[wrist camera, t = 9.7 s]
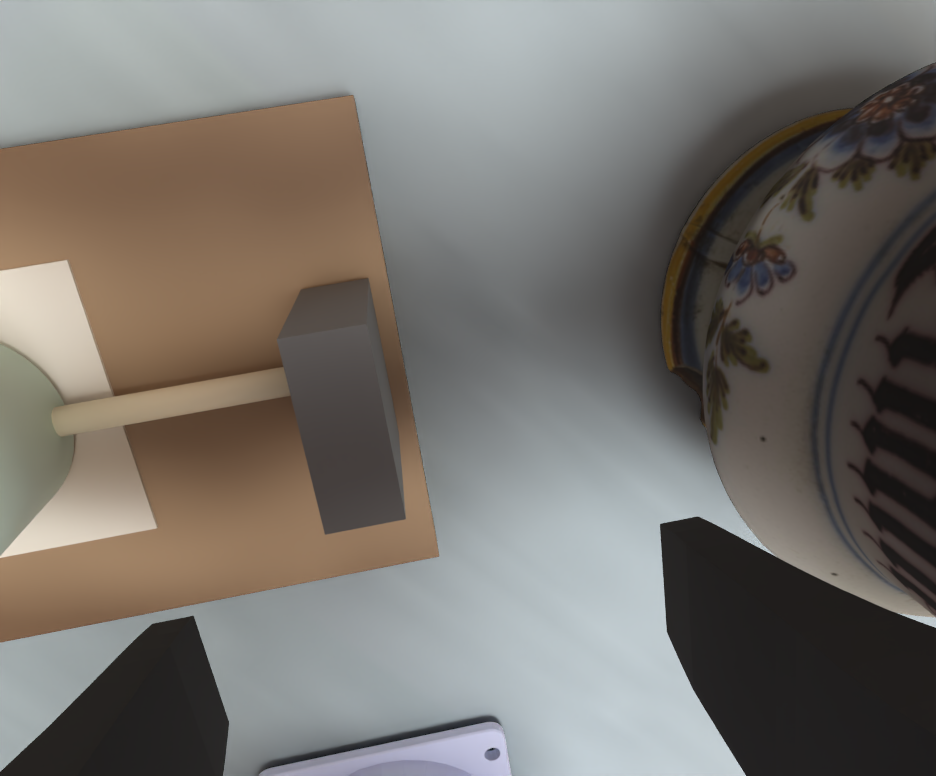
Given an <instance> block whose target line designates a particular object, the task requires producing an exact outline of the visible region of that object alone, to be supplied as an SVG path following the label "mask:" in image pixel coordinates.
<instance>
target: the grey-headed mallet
mask: <svg viewBox="0 0 936 776" xmlns="http://www.w3.org/2000/svg"><path fill="white" fill-rule="evenodd" d="M277 342H278V347H279V351H280V355H281V359H282V363H283V367H280V368H274V369H268V370H263V371H257V372H251V373H246V374H240V375H234V376H229V377H223V378H217V379H212V380H206V381H200V382H195V383H189V384H183V385H177V386H172V387H166V388H160V389H155V390H149V391H143V392H138V393H132V394H126V395H121V396H115V397H109V398H104V399H98V400H92V401H87V402H81V403H75V404H70V405H65V404H64V402H63V400H62V399H61V397H60V395H59V394H58V392H57V390H56V389H55V388H54V386H53V385H52V384H51V382H50V381H49V380H48V379H47V377H46V376H45V375H44V374H43V373H42V372H41V371H40V370H39V369H38V368H37V367H35V366H34V365H33V364H32V363H30V362H29V361H28V360H27V359H25V358H24V357H23V356H21V355H19V354H18V353H16V352H15V351H13V350H12V349H10V348H8V347H6V346H4V345H2V344H0V556H1V555H2V553H3V552H4V551H5V550H6V549H7V548H8V547H9V546H10V544H11V543H12V542H13V541H14V540H15V539H16V538H17V537H18V536H19V534H20V533H21V532H22V531H23V530H24V529H25V528H26V527H27V525H28V524H29V523H30V522H31V521H32V520H33V519H34V518H35V517H36V515H37V514H38V513H39V512H40V511H41V510H42V509H43V508H44V506H45V505H46V504H47V503H48V502H49V501H50V500H51V499H52V498H53V496H54V495H55V494H56V493H57V491H58V490H59V489H60V487H61V486H62V485H63V483H64V481H65V479H66V477H67V475H68V473H69V470H70V467H71V464H72V459H73V453H74V435H73V434H79V433H85V432H90V431H96V430H101V429H107V428H112V427H118V426H124V425H129V424H135V423H140V422H146V421H152V420H157V419H163V418H168V417H174V416H180V415H185V414H191V413H196V412H202V411H208V410H213V409H219V408H224V407H230V406H235V405H241V404H247V403H252V402H258V401H263V400H269V399H275V398H280V397H286V396H291V399H292V403H293V407H294V411H295V415H296V420H297V424H298V428H299V432H300V436H301V440H302V444H303V448H304V452H305V456H306V460H307V464H308V468H309V472H310V476H311V480H312V484H313V488H314V493H315V497H316V501H317V505H318V509H319V513H320V517H321V521H322V525H323V529H324V533H325V535H327V534H332V533H337V532H342V531H348V530H353V529H358V528H363V527H368V526H374V525H379V524H384V523H389V522H394V521H400V520H405V519H406V513H405V501H404V489H403V477H402V465H401V453H400V441H399V431H398V426H397V421H396V415H395V410H394V405H393V400H392V395H391V390H390V385H389V380H388V375H387V369H386V364H385V359H384V354H383V349H382V344H381V339H380V334H379V329H378V324H377V318H376V313H375V308H374V303H373V298H372V293H371V288H370V283H369V278H366V279H360V280H354V281H348V282H342V283H336V284H330V285H324V286H318V287H312V288H306V289H301V290H300V292H299V294H298V297H297V299H296V301H295V303H294V305H293V307H292V309H291V311H290V313H289V315H288V317H287V319H286V321H285V323H284V325H283V328H282V330H281V332H280V334H279V336H278V338H277Z"/></svg>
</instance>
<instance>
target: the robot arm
mask: <svg viewBox="0 0 936 776" xmlns="http://www.w3.org/2000/svg"><path fill="white" fill-rule="evenodd" d="M660 531H661V546H662V562H663V577H664V593H665V608H666V623H667V633H668V635H669V638H670V640H671V642H672V644H673V647H674V649H675V651H676V653H677V656H678V658H679V660H680V662H681V665H682V667H683V669H684V671H685V673H686V675H687V677H688V679H689V681H690V684H691V686H692V688H693V690H694V692H695V693H696V695H697V697H698V698H699V700H700V702H701V703H702V705H703V707H704V708H705V710H706V712H707V713H708V715H709V716H710V718H711V720H712V721H713V723H714V725H715V726H716V728H717V729H718V731H719V733H720V734H721V736H722V738H723V739H724V741H725V742H726V744H727V746H728V747H729V749H730V750H731V752H732V754H733V755H734V757H735V758H736V760H737V762H738V763H739V765H740V766H741V768H742V770H743V771H744V773H745V775H746V776H936V628H934V627H932V626H929V625H926V624H923V623H921V622H918V621H915V620H913V619H910V618H907V617H905V616H902V615H900V614H897V613H895V612H892V611H890V610H888V609H885V608H883V607H880V606H878V605H876V604H874V603H871V602H869V601H867V600H865V599H862V598H860V597H858V596H856V595H853V594H851V593H849V592H847V591H844V590H842V589H840V588H838V587H836V586H834V585H831V584H829V583H827V582H825V581H823V580H821V579H819V578H817V577H815V576H813V575H811V574H809V573H807V572H805V571H803V570H801V569H799V568H797V567H795V566H793V565H791V564H789V563H787V562H785V561H783V560H781V559H779V558H777V557H775V556H773V555H771V554H770V553H768V552H766V551H764V550H762V549H760V548H758V547H756V546H754V545H753V544H751V543H749V542H747V541H745V540H743V539H741V538H739V537H738V536H736V535H734V534H732V533H730V532H728V531H726V530H724V529H722V528H720V527H719V526H717V525H715V524H713V523H711V522H709V521H706V520H704V519H702V518H700V517H693V518H688V519H683V520H678V521H673V522H668V523H663V524H660ZM228 728H229V721H228V718H227V715H226V712H225V709H224V706H223V703H222V700H221V697H220V694H219V691H218V688H217V685H216V682H215V679H214V676H213V673H212V670H211V667H210V664H209V661H208V658H207V655H206V652H205V649H204V646H203V643H202V640H201V637H200V634H199V631H198V628H197V625H196V622H195V619H194V616H190V617H185V618H180V619H175V620H170V621H165V622H160V623H155V624H152V625H151V626H150V627H148V628H147V629H146V630H145V631H144V632H143V633H142V634H141V635H140V636H139V637H137V638H136V639H135V640H134V641H133V642H132V643H131V644H130V645H129V646H128V647H127V648H126V649H125V650H124V651H123V652H122V653H121V654H120V655H119V656H118V657H117V658H116V659H115V660H114V661H113V662H112V663H111V664H110V665H109V666H108V667H107V668H106V669H105V671H104V672H103V673H102V674H101V675H100V676H99V677H98V678H97V679H96V680H95V681H94V682H93V683H92V684H91V685H90V686H89V687H88V688H87V689H86V690H85V691H84V692H83V693H82V694H81V695H80V696H79V697H78V698H77V699H76V700H75V701H74V702H73V703H72V704H71V705H70V706H69V707H68V708H67V709H66V710H65V711H64V712H63V713H62V714H61V715H60V716H59V717H58V718H57V719H56V720H55V721H54V722H53V723H52V724H51V725H50V726H49V727H48V728H47V729H46V730H45V731H44V732H42V733H41V734H40V735H39V736H38V737H37V738H36V739H35V740H34V741H33V742H32V743H31V744H30V745H29V746H27V747H26V748H25V749H24V750H23V751H22V752H21V753H20V754H19V755H18V756H17V757H16V758H15V759H14V760H12V761H11V762H10V763H9V764H8V765H7V766H6V767H5V768H4V769H3V770H2V771H1V772H0V776H223V770H224V763H225V755H226V746H227V737H228ZM490 748H496V749H495V750H492V751H487V750H488V749H490ZM259 776H512V775H511V769H510V763H509V757H508V751H507V745H506V739H505V735H504V730H503V728H502V726H501V725H499V724H498V723H495V722H485V723H480V724H475V725H471V726H466V727H461V728H456V729H452V730H447V731H442V732H438V733H433V734H428V735H423V736H419V737H414V738H409V739H405V740H400V741H395V742H390V743H386V744H381V745H376V746H372V747H367V748H362V749H357V750H353V751H348V752H343V753H339V754H334V755H329V756H324V757H320V758H315V759H310V760H306V761H301V762H296V763H291V764H287V765H282V766H277V767H273V768H269V769H266V770H264V771H262V772H261V773H260V774H259Z"/></svg>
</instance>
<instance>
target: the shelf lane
mask: <svg viewBox="0 0 936 776" xmlns="http://www.w3.org/2000/svg"><path fill="white" fill-rule="evenodd" d="M366 278H369V283H370V288H371V293H372V298H373V303H374V308H375V313H376V318H377V324H378V329H379V334H380V339H381V344H382V349H383V354H384V359H385V364H386V369H387V375H388V380H389V385H390V390H391V395H392V400H393V405H394V410H395V415H396V421H397V426H398V431H399V441H400V453H401V465H402V477H403V489H404V501H405V513H406V519H405V520H400V521H394V522H389V523H384V524H379V525H374V526H368V527H363V528H358V529H353V530H348V531H342V532H337V533H332V534H327V535H325V533H324V529H323V525H322V521H321V517H320V513H319V509H318V505H317V501H316V497H315V493H314V488H313V484H312V480H311V476H310V472H309V468H308V464H307V460H306V456H305V452H304V448H303V444H302V440H301V436H300V432H299V428H298V424H297V420H296V415H295V411H294V407H293V403H292V399H291V396H286V397H280V398H275V399H269V400H263V401H258V402H252V403H247V404H241V405H235V406H230V407H224V408H219V409H213V410H208V411H202V412H196V413H191V414H185V415H180V416H174V417H168V418H163V419H157V420H152V421H146V422H140V423H135V424H129V425H124V426H118V427H112V428H107V429H101V430H96V431H90V432H85V433H79V434H73V435H74V453H73V459H72V464H71V467H70V470H69V473H68V475H67V477H66V479H65V481H64V483H63V485H62V486H61V487H60V489H59V490H58V491H57V493H56V494H55V495H54V496H53V498H52V499H51V500H50V501H49V502H48V503H47V504H46V505H45V506H44V508H43V509H42V510H41V511H40V512H39V513H38V514H37V515H36V517H35V518H34V519H33V520H32V521H31V522H30V523H29V524H28V525H27V527H26V528H25V529H24V530H23V531H22V532H21V533H20V534H19V536H18V537H17V538H16V539H15V540H14V541H13V542H12V543H11V544H10V546H9V547H8V548H7V549H6V550H5V551H4V552H3V553H2V555H1V556H0V642H5V641H10V640H15V639H20V638H25V637H30V636H35V635H41V634H46V633H51V632H56V631H61V630H66V629H71V628H76V627H81V626H86V625H92V624H97V623H102V622H107V621H112V620H117V619H122V618H127V617H132V616H138V615H143V614H148V613H153V612H158V611H163V610H168V609H173V608H178V607H183V606H189V605H194V604H199V603H204V602H209V601H214V600H219V599H224V598H229V597H234V596H240V595H245V594H250V593H255V592H260V591H265V590H270V589H275V588H280V587H286V586H291V585H296V584H301V583H306V582H311V581H316V580H321V579H326V578H331V577H337V576H342V575H347V574H352V573H357V572H362V571H367V570H372V569H377V568H383V567H388V566H393V565H398V564H403V563H408V562H413V561H418V560H423V559H428V558H434V557H439V552H438V545H437V539H436V533H435V527H434V522H433V517H432V511H431V506H430V501H429V495H428V490H427V485H426V479H425V474H424V468H423V463H422V458H421V452H420V447H419V442H418V436H417V431H416V426H415V420H414V415H413V410H412V404H411V399H410V393H409V388H408V383H407V377H406V372H405V367H404V361H403V356H402V351H401V345H400V340H399V334H398V329H397V324H396V318H395V313H394V308H393V302H392V297H391V292H390V286H389V281H388V276H387V270H386V265H385V259H384V254H383V249H382V243H381V238H380V233H379V227H378V222H377V217H376V211H375V206H374V201H373V195H372V190H371V184H370V179H369V174H368V168H367V163H366V158H365V152H364V147H363V142H362V136H361V131H360V126H359V120H358V115H357V109H356V104H355V99H354V96H353V95H351V96H344V97H337V98H331V99H324V100H318V101H311V102H305V103H298V104H292V105H285V106H278V107H272V108H265V109H259V110H252V111H246V112H239V113H233V114H226V115H219V116H213V117H206V118H200V119H193V120H187V121H180V122H174V123H167V124H160V125H154V126H147V127H141V128H134V129H128V130H121V131H115V132H108V133H102V134H95V135H88V136H82V137H75V138H69V139H62V140H56V141H49V142H43V143H36V144H29V145H23V146H16V147H10V148H3V149H0V344H2V345H4V346H6V347H8V348H10V349H12V350H13V351H15V352H16V353H18V354H19V355H21V356H23V357H24V358H25V359H27V360H28V361H29V362H30V363H32V364H33V365H34V366H35V367H37V368H38V369H39V370H40V371H41V372H42V373H43V374H44V375H45V376H46V377H47V379H48V380H49V381H50V382H51V384H52V385H53V386H54V388H55V389H56V390H57V392H58V394H59V395H60V397H61V399H62V400H63V402H64V404H65V405H70V404H75V403H81V402H87V401H92V400H98V399H104V398H109V397H115V396H121V395H126V394H132V393H138V392H143V391H149V390H155V389H160V388H166V387H172V386H177V385H183V384H189V383H195V382H200V381H206V380H212V379H217V378H223V377H229V376H234V375H240V374H246V373H251V372H257V371H263V370H268V369H274V368H280V367H283V363H282V359H281V355H280V351H279V347H278V342H277V338H278V336H279V334H280V332H281V330H282V328H283V325H284V323H285V321H286V319H287V317H288V315H289V313H290V311H291V309H292V307H293V305H294V303H295V301H296V299H297V297H298V294H299V292H300V290H301V289H306V288H312V287H318V286H324V285H330V284H336V283H342V282H348V281H354V280H360V279H366Z"/></svg>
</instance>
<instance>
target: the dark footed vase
mask: <svg viewBox="0 0 936 776" xmlns="http://www.w3.org/2000/svg"><path fill="white" fill-rule="evenodd" d="M661 334H662V344H663V350H664V355H665V359H666V363H667V367H668V369H669V371H670V372H673V373H675V374H677V375H678V376H679V377H681V379H682V380H683V381H684V382H685V383H686V384H687V385H688V386H690V387H691V388H692V389H694V390H695V391H696V392H697V393H698V395H699V396H700V399H701V404H702V406H701V416H700V420H701V422H702V424H703V425H704V426H705V427H706V430H707V435H708V440H709V445H710V449H711V453H712V456H713V460H714V463H715V466H716V469H717V471H718V474H719V476H720V479H721V481H722V483H723V486H724V488H725V490H726V492H727V494H728V496H729V498H730V500H731V501H732V503H733V505H734V507H735V508H736V510H737V511H738V513H739V514H740V516H741V517H742V519H743V520H744V522H745V523H746V524H747V526H748V527H749V528H750V530H751V531H752V532H753V533H754V534H755V536H756V537H757V538H758V539H759V540H760V542H761V543H762V544H763V545H764V546H765V547H766V548H767V549H768V550H770V551H771V552H772V553H773V554H774V555H775V556H776V557H777V558H779V559H781V560H783V561H785V562H787V563H789V564H791V565H793V566H795V567H797V568H799V569H801V570H803V571H805V572H807V573H809V574H811V575H813V576H815V577H817V578H819V579H821V580H823V581H825V582H827V583H829V584H831V585H834V586H836V587H838V588H840V589H842V590H844V591H847V592H849V593H851V594H853V595H856V596H858V597H860V598H862V599H865V600H867V601H869V602H871V603H874V604H876V605H878V606H880V607H883V608H885V609H888V610H890V611H892V612H895V613H901V614H907V615H915V616H925V617H936V63H933V64H931V65H928V66H926V67H924V68H921V69H919V70H917V71H915V72H913V73H911V74H909V75H907V76H905V77H903V78H901V79H899V80H898V81H896V82H894V83H892V84H890V85H889V86H887V87H885V88H883V89H882V90H880V91H879V92H877V93H875V94H874V95H872V96H871V97H869V98H867V99H866V100H864V101H863V102H861V103H860V104H858V105H857V106H856V107H855V108H847V109H840V110H834V111H828V112H824V113H820V114H817V115H814V116H810V117H807V118H805V119H802V120H799V121H797V122H795V123H793V124H790V125H788V126H786V127H784V128H782V129H780V130H778V131H777V132H775V133H773V134H772V135H770V136H768V137H767V138H765V139H763V140H762V141H760V142H759V143H757V144H756V145H754V146H753V147H752V148H750V149H749V150H748V151H747V152H745V153H744V154H743V155H742V156H740V157H739V158H738V159H737V160H736V161H735V162H734V163H733V164H731V165H730V166H729V167H728V168H727V169H726V170H725V171H724V172H723V173H722V175H721V176H720V177H719V178H718V179H717V180H716V181H715V182H714V183H713V185H712V186H711V187H710V188H709V189H708V191H707V192H706V193H705V195H704V196H703V197H702V199H701V200H700V202H699V203H698V204H697V206H696V208H695V209H694V211H693V212H692V214H691V215H690V217H689V218H688V220H687V223H686V224H685V226H684V227H683V229H682V231H681V233H680V236H679V239H678V241H677V244H676V246H675V249H674V251H673V254H672V257H671V260H670V263H669V266H668V270H667V273H666V278H665V282H664V288H663V294H662V302H661Z"/></svg>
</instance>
